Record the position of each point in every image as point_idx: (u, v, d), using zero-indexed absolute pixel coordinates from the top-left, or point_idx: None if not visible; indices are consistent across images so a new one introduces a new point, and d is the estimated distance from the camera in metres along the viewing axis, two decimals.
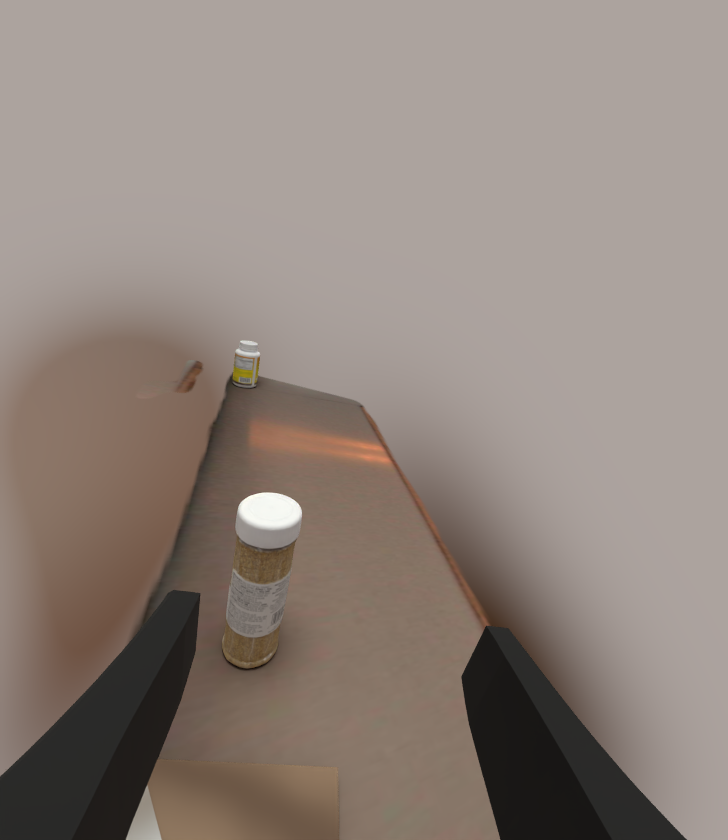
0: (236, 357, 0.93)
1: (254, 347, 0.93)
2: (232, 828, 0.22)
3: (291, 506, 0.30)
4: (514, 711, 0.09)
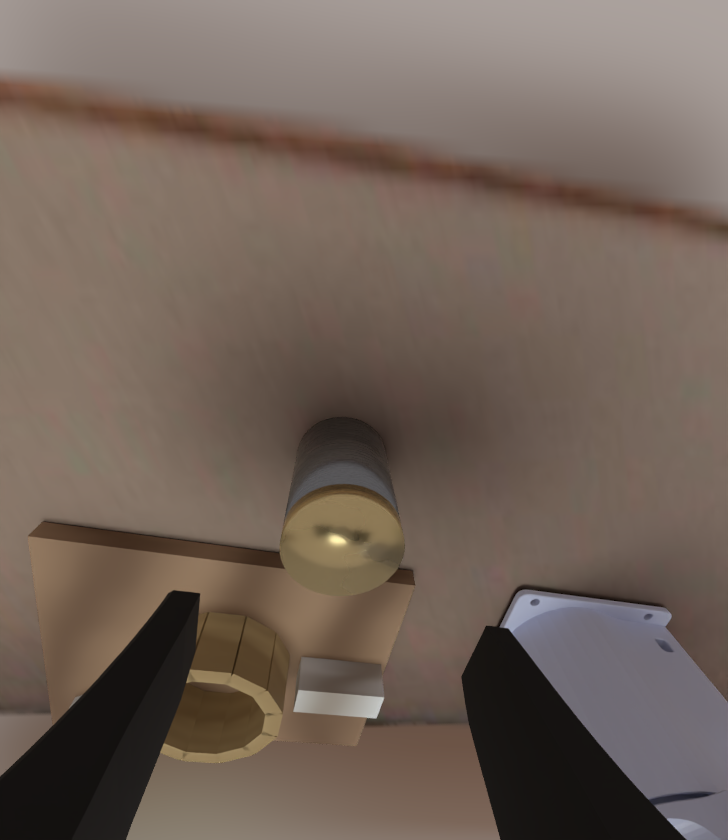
0: None
1: None
2: (106, 633, 0.21)
3: None
4: (514, 712, 0.09)
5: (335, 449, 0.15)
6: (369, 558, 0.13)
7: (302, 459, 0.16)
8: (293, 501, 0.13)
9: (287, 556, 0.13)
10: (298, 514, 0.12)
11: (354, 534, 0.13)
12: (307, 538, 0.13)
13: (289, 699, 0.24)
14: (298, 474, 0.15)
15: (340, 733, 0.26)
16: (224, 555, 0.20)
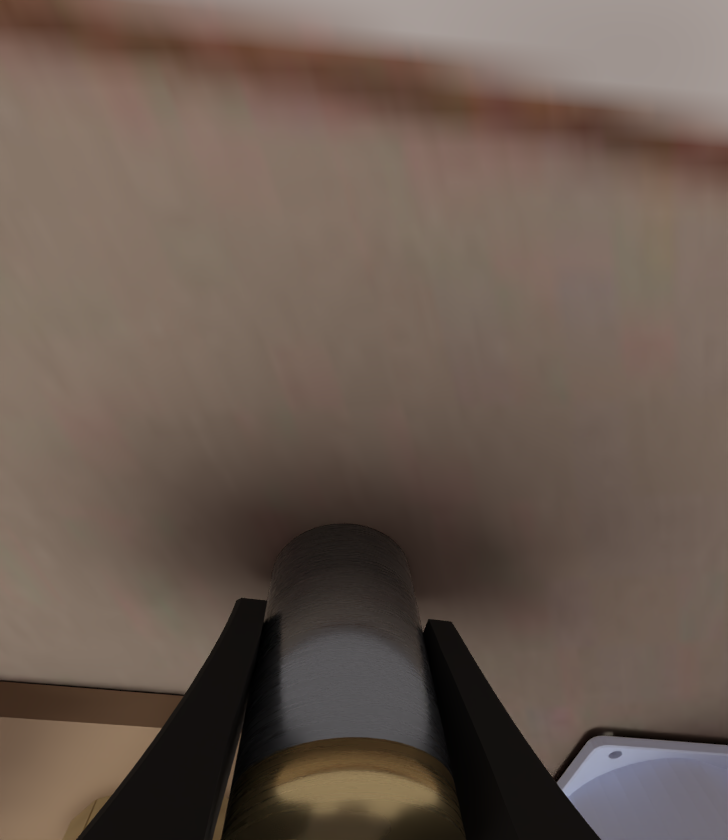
0: None
1: None
2: None
3: None
4: (446, 706, 0.09)
5: (331, 613, 0.09)
6: None
7: (274, 619, 0.09)
8: (247, 755, 0.07)
9: None
10: (249, 827, 0.06)
11: None
12: None
13: None
14: (264, 662, 0.08)
15: None
16: (166, 715, 0.13)
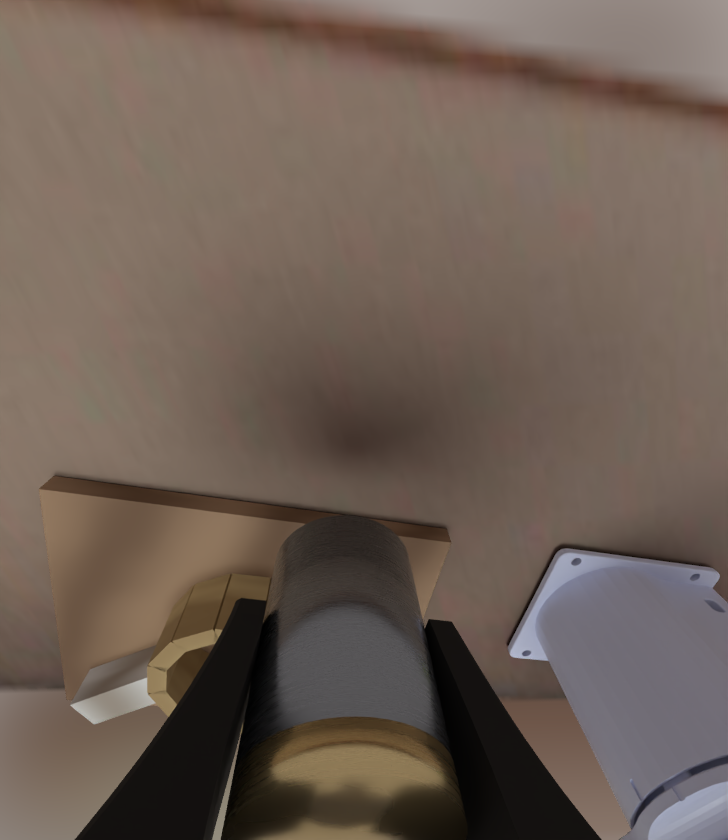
0: None
1: None
2: (122, 598, 0.20)
3: None
4: (447, 706, 0.09)
5: (334, 599, 0.09)
6: None
7: (278, 606, 0.09)
8: (252, 734, 0.07)
9: None
10: (256, 801, 0.06)
11: (370, 823, 0.06)
12: (276, 831, 0.06)
13: None
14: (268, 646, 0.08)
15: None
16: (248, 510, 0.18)
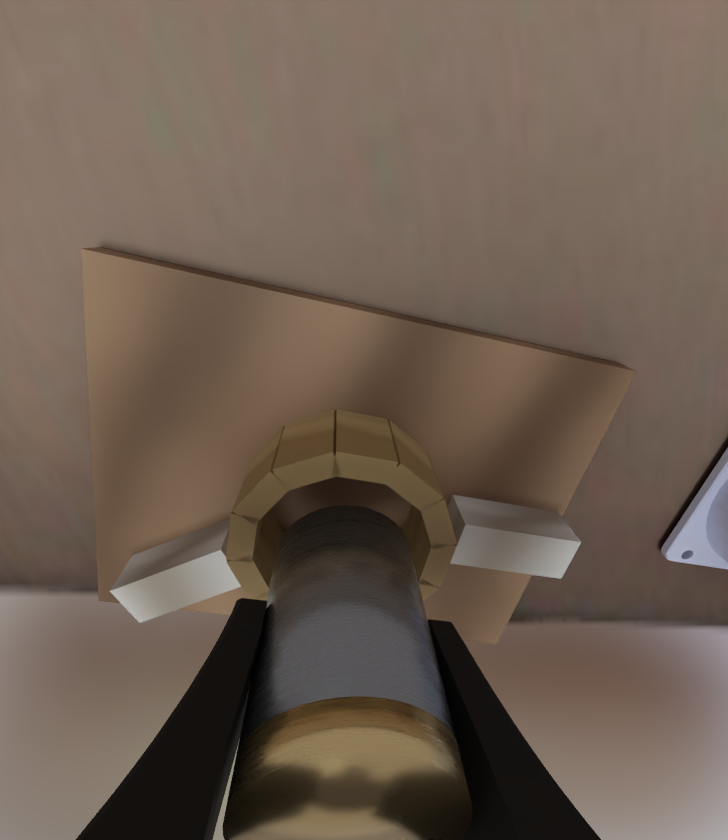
0: None
1: None
2: (184, 444, 0.14)
3: None
4: None
5: (342, 584, 0.09)
6: (400, 837, 0.07)
7: (282, 590, 0.09)
8: (259, 713, 0.07)
9: (237, 837, 0.07)
10: (264, 778, 0.06)
11: (376, 804, 0.06)
12: (281, 811, 0.06)
13: None
14: (273, 629, 0.08)
15: (479, 623, 0.19)
16: (368, 310, 0.13)
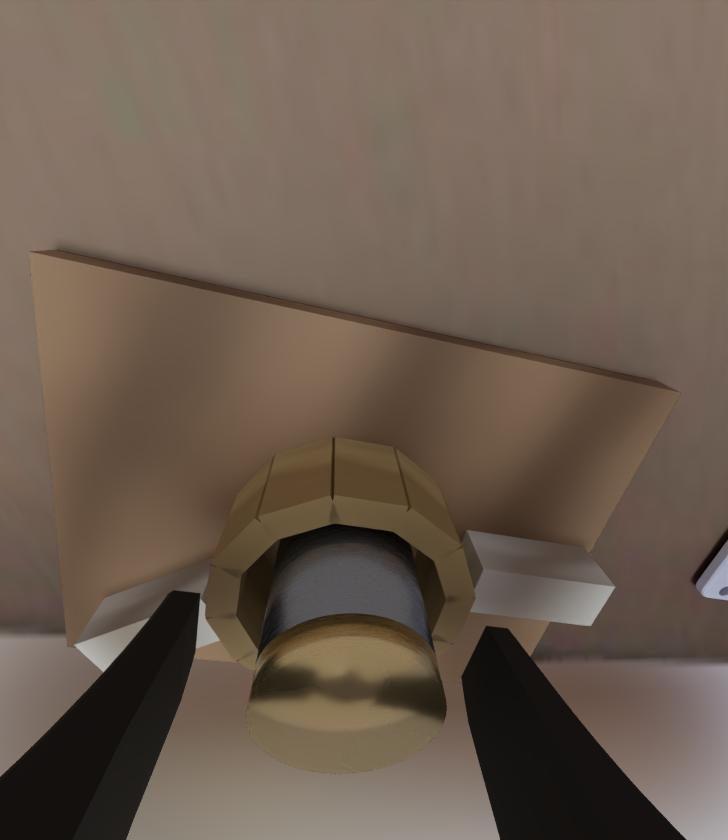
0: None
1: None
2: (159, 477, 0.13)
3: None
4: (513, 712, 0.09)
5: (342, 534, 0.10)
6: (388, 729, 0.08)
7: (291, 541, 0.11)
8: (274, 630, 0.09)
9: (257, 724, 0.08)
10: (280, 670, 0.07)
11: (368, 699, 0.08)
12: (292, 701, 0.08)
13: None
14: (284, 570, 0.10)
15: None
16: (372, 323, 0.11)
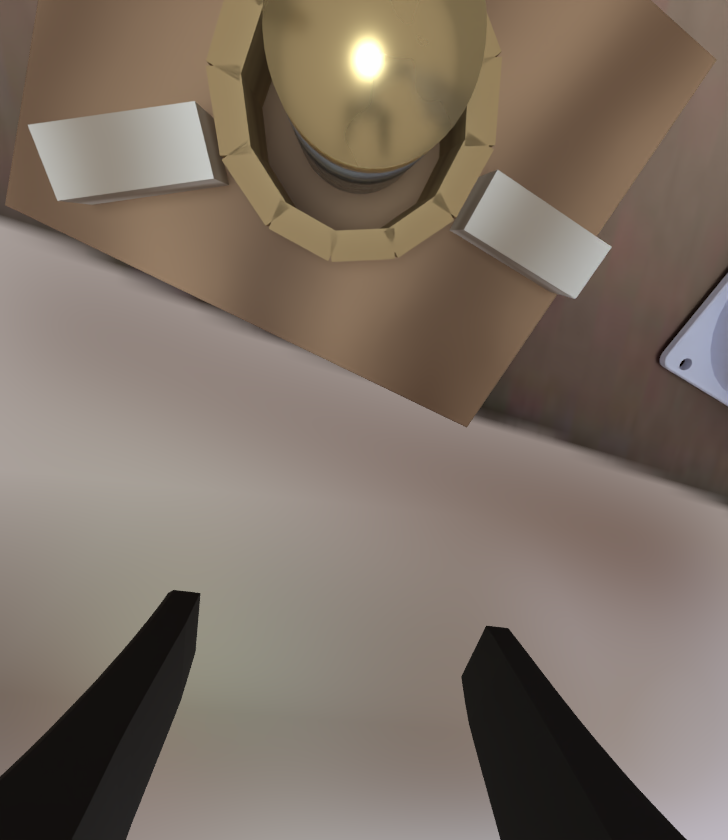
0: None
1: None
2: None
3: None
4: (514, 712, 0.09)
5: None
6: (412, 83, 0.08)
7: None
8: None
9: (275, 2, 0.07)
10: None
11: (408, 3, 0.07)
12: None
13: (417, 282, 0.15)
14: None
15: (457, 390, 0.17)
16: None
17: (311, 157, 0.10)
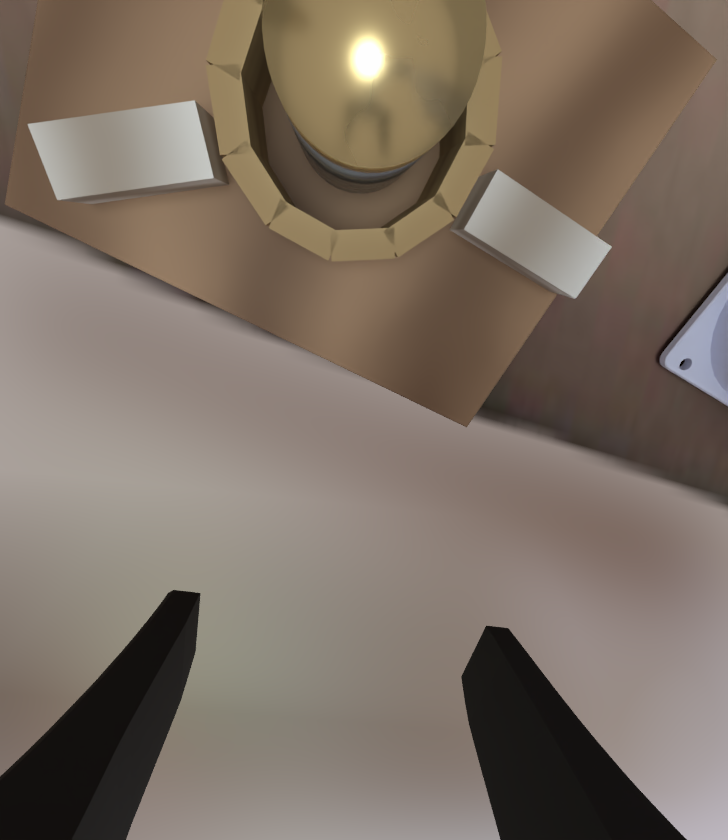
0: None
1: None
2: None
3: None
4: (514, 712, 0.09)
5: None
6: (412, 82, 0.08)
7: None
8: None
9: (275, 0, 0.07)
10: None
11: (407, 3, 0.07)
12: None
13: (417, 281, 0.15)
14: None
15: (457, 390, 0.17)
16: None
17: (311, 157, 0.10)
